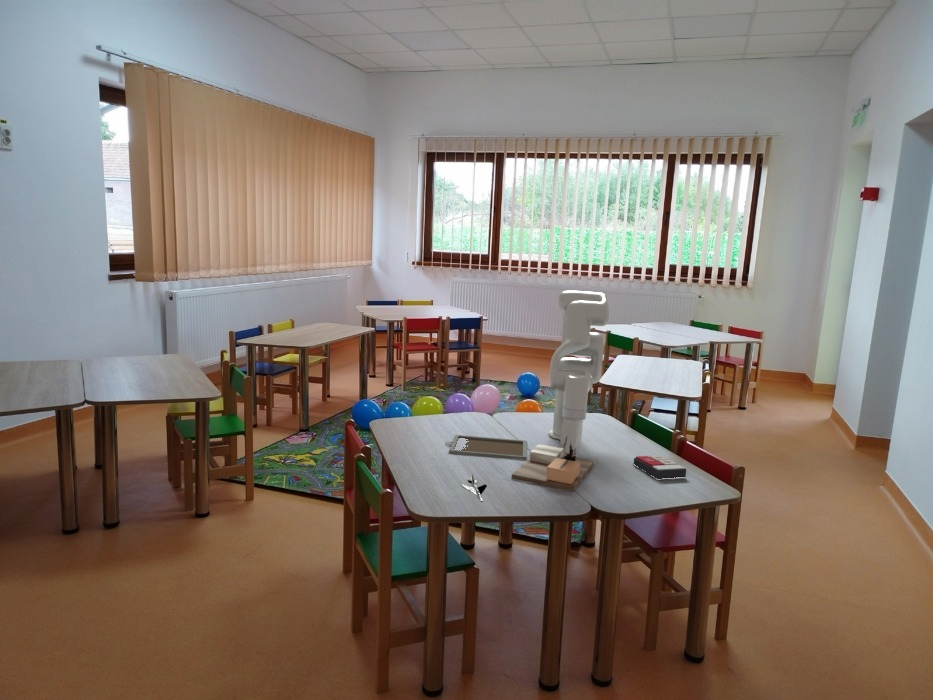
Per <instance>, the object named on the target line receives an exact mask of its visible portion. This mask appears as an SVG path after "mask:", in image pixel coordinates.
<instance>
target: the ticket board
mask: <svg viewBox="0 0 933 700" xmlns="http://www.w3.org/2000/svg"><path fill="white" fill-rule="evenodd" d="M556 458H560V459H565V449H564V447H563V448H560V446H553V445H548V444H543V443H539V444H537V445H536V446H535V447H534V448H533V449H531V451H530V452H529V458H527V460H525V462H524V463H523V464H521V466H519V467H518V468H517V469H516V470H515V471H513V472H512V473H511V479H512V480H517V481H521V482H527V483H530V484H536V485H540V486H544V487H545V486H546V487H548V488H549V487H550V488H554V489H558V490H564V491H567V490H568V491H569V492H572V491H573V492H574V491H575V490H576V489H577V488H578V487H579V485H580V484H581V482H582V481H583V480H584V479H585V477H586V476H587V475H586V474H588V473H589V472H590V471H591V470H592V468H593V467H594V466H593V465H595V460H592V459H587V458H581V457H578V456H576V461H575V462H580V473H579V475H578V477H577V478H576V479H575V480H574V482H573V483H572V484H567V483H562V482H557V481H553V480H548V479H546V476H547V467H548V466H549V465H550V464H551V463H552V462H553V461H554V460H555V459H556ZM592 466H593V467H592ZM589 470H590V471H589ZM585 475H586V476H585ZM582 479H583V480H582ZM581 480H582V481H581ZM579 483H580V484H579ZM578 484H579V485H578ZM575 488H576V489H575Z"/></svg>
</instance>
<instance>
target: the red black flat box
mask: <svg viewBox="0 0 933 700" xmlns="http://www.w3.org/2000/svg"><path fill="white" fill-rule="evenodd" d="M634 464H635V465H636V466H638V467H639V468H641V469H643V470H644V471H646V472H647V473H649V474H650V475H652V476H654V477H655V478H657V479H662V478H674V477H675V478H676V477H687V469H686V468H685V467H684V466H682V465H679V464H678V463H677V462H675V461H673V460H670V459H668V458H666V457H665V456H664V455H663V456H662V455H661V454H660V455H640V456H639V455H638V456H635V457H634V458H633V465H634ZM636 466H635V467H636ZM639 468H638V469H639ZM644 471H643V472H644ZM647 473H646V474H647ZM649 474H648V475H649ZM650 475H649V476H650Z"/></svg>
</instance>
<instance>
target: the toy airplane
mask: <svg viewBox="0 0 933 700" xmlns="http://www.w3.org/2000/svg"><path fill="white" fill-rule="evenodd" d="M467 482H468V483H470V484H471V486H469V485H466V484H461V486H462V487H463V488H465V489H467V490H468V491H470V492H471V493H473V494H474V495H476V496H477V497H478V499H480V500H479V501H480V502H484V501H483V497H482V495H483V492H484V491H485V489H486V488H487V486H488V485H487V484H486V483H485V484H484V483H483V484H481V485H480V486H477V483H478V480H477V479H475V478H474V476H473V474H471V480H470V479H467Z"/></svg>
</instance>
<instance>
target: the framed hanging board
mask: <svg viewBox="0 0 933 700" xmlns="http://www.w3.org/2000/svg"><path fill="white" fill-rule="evenodd" d="M459 438H465V439H468V440H466V441H469V442H467V443H466V444H465V445H466V447H465V448H466V449H465V448H464V447H463V448H464V449H462V450H461V451H460V450H459V451H458V450H454V449H455V447H456V444H457V441H458V439H459ZM447 443H451V444H447ZM445 444H446V445H449V446H450V447H449V446H448V447H449V450H448V453H449V454H451V453H454V454H453V455H465V456H475V457H487V458H501V459H510V460H511V459H513V460H522V461H527V460H528V441H527V440H523V439H522V440H521V439H513V438H501V437H499V438H498V437H485V436H473V435H463V434H455V435H454V437H453V440H451V441H447V442H445V443H444V445H445ZM446 445H445V446H446ZM467 445H468V447H467Z"/></svg>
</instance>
